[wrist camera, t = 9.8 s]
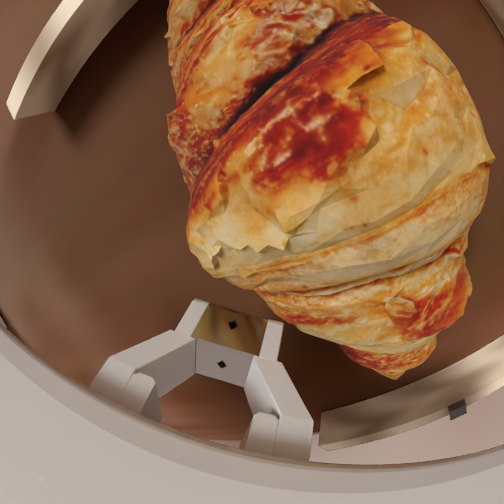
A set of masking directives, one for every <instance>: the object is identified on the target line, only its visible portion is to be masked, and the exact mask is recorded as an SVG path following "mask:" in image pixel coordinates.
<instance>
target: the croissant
mask: <svg viewBox="0 0 504 504" xmlns="http://www.w3.org/2000/svg"><path fill="white" fill-rule="evenodd" d="M167 21H168V25H169V28H168V32H167V34H166V35H165V37H164V38H166V39H168V54H169V66H171V67H172V70H171V77H172V80H173V84H174V88H175V91H176V94H177V97H176V104H175V109H174V111H173V112H171V113H169V114H168V115H166V116H168V117H167V119H168V132H169V135H168V140H169V144H170V146H171V147H172V148H173V150H174V151H175V152H176V153H177V159H178V162H179V164H180V166H181V169H182V171H183V177H184V182H185V183H186V184H187V185H188V189H189V192H190V195H191V200H190V205H189V211H188V217H187V224H186V233H187V240H188V245H189V248H190V251H191V252H192V253H193V254H194V255H195V256H196V257H198V259H199V261H200V263H201V265H202V267H203V268H204V269H205V270H206V271H207V272H208V273H209V274H211V275H212V276H213V277H215V278H221V277H223V278H225V279H226V280H227V281H228V282H230V283H231V284H233V285H236V286H238V287H240V288H243V289H250V290H255V291H256V292H257V293H258V294H259V295H260V296H261V297H262V298H263V299H264V300H265V301H266V303H267V304H268V306H269V307H270V308H271V310H272V311H273V312H274V313H275V314H276V315H277V316H279V317H280V318H282V319H283V320H285V321H286V322H288V323H289V324H294V325H295V326H296V327H297V328H298V329H299V330H300V331H302V332H304V333H307V334H310V335H313V336H316V337H319V338H322V339H326V340H329V341H332V342H335V343H337V344H338V345H339V347H340V348H341V349H342V351H343V352H344V353H345V354H346V355H347V356H348V357H349V358H350V359H351V360H353V361H355V362H357V363H358V364H360V365H362V366H364V367H368V368H371V369H374V370H375V371H377V372H378V373H380V374H382V375H384V376H386V377H389V378H391V379H394V380H396V379H398V378H399V377H400V376H401V375H402V374H404V372H405V371H406V370H408V369H411V368H414V367H416V366H418V365H420V364H422V363H423V362H424V361H425V360H426V359H427V358H428V357H429V355H430V354H431V353H432V351H433V350H434V348H435V346H436V335H437V334H438V333H439V332H440V331H442V330H444V329H446V328H448V327H449V326H451V325H452V324H453V323H454V322H455V321H456V320H457V319H459V318H460V317H461V316H462V315H463V314H464V309H465V305H466V301H467V297H470V295H471V292H472V283H471V281H470V279H471V278H470V275H469V273H468V270H467V268H466V265H465V263H466V260H465V257H464V251H465V250H466V248H467V247H468V232H469V230H470V226H471V225H472V223H473V221H474V219H475V218H476V217H477V216H478V214H479V213H480V212H481V210H482V207H483V204H484V201H485V198H486V195H487V189H488V181H489V171H490V165H491V164H492V162H493V161H494V159H495V156H494V155H493V153H492V151H491V149H490V147H489V145H488V142H487V140H486V138H485V134H484V130H483V126H482V123H481V119H480V117H479V114H478V112H477V110H476V107H475V105H474V103H473V101H472V98H471V96H470V94H469V92H468V90H467V89H466V87H465V85H464V84H463V81H462V79H461V77H460V74H459V72H458V70H457V68H456V67H455V66H454V64H453V63H452V62H451V61H450V59H449V58H448V57H447V56H446V54H445V53H444V52H443V51H442V50H441V49H440V48H439V46H438V45H437V44H436V43H435V42H434V41H433V40H432V39H431V38H430V37H429V36H428V35H427V34H426V33H424V32H422V31H420V30H418V29H416V28H414V27H412V26H411V25H409V24H408V23H406V22H404V21H401V20H399V19H397V18H395V17H388V16H387V15H386V14H385V13H383V12H382V11H381V10H380V9H379V8H378V7H376V6H375V5H374V4H373V3H372V2H370V1H369V0H169V7H168V10H167Z"/></svg>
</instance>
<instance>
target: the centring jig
mask: <svg viewBox="0 0 504 504" xmlns="http://www.w3.org/2000/svg"><path fill="white" fill-rule="evenodd" d="M137 1H138V0H63V1H62V3H61V4H60V5H59V7H58V8H57V9H56V11H55V12H54V14H53V15H52V17H51V18H50V20H49V21H48V23H47V24H46V26H45V27H44V29H43V30H42V32H41V34H40V35H39V37H38V39H37V40H36V42H35V44H34V45H33V47H32V49H31V51H30V53H29V55H28V56H27V58H26V60H25V62H24V64H23V66H22V68H21V70H20V72H19V75H18V77H17V79H16V81H15V83H14V86H13V88H12V90H11V93H10V95H9V98H8V100H7V103H6V104H7V106H8V108H9V110H10V112H11V115H12V117H13V119H14V120H16V119H20V118H24V117H28V116H33V115H37V114H42V113H46V112H52V111H55V110H56V108H57V106H58V105H59V103H60V101H61V99H62V98H63V96H64V94H65V93H66V91H67V89H68V88H69V86H70V85H71V83H72V81H73V80H74V78H75V77H76V75H77V74H78V72H79V71H80V69H81V68H82V66H83V65H84V64H85V62H86V61H87V59H88V58H89V57H90V55H91V54H92V53H93V51H94V50H95V49H96V47H97V46H98V45H99V44H100V42H101V41H102V40H103V39H104V37H105V36H106V35H107V34H108V33H109V31H110V30H111V29H112V28H113V27H114V26H115V24H116V23H117V22H118V21H119V20H120V19H121V18H122V17H123V16H124V15H125V13H126V12H127V11H128V10H129V9H130V8H131V7H132V6H133V5H134V4H135V3H136V2H137ZM479 1H480V2H481V4H482V5H483V7H484V8H485V9H486V11H487V12H488V14H489V15H490V17H491V18H492V20H493V21H494V23H495V24H496V26H497V28H498V29H499V31H500V33H501V34H502V36H503V38H504V0H479ZM502 386H504V335H502V336H501V337H499V338H498V339H496V340H494V341H493V342H491V343H490V344H488V345H486V346H485V347H483V348H481V349H480V350H478V351H476V352H475V353H473V354H471V355H469V356H467V357H466V358H464V359H462V360H460V361H458V362H456V363H454V364H452V365H450V366H448V367H446V368H444V369H442V370H440V371H438V372H436V373H434V374H432V375H430V376H427V377H425V378H423V379H421V380H418V381H416V382H414V383H411V384H409V385H406V386H404V387H401V388H399V389H396V390H393V391H391V392H388V393H385V394H382V395H379V396H377V397H374V398H371V399H368V400H364V401H361V402H358V403H355V404H351V405H348V406H344V407H341V408H337V409H333V410H330V411H326V412H321V425H320V436H319V446H320V447H322V448H323V449H325V450H326V451H330V450H336V449H341V448H346V447H351V446H355V445H359V444H364V443H368V442H372V441H375V440H379V439H382V438H386V437H389V436H393V435H396V434H399V433H402V432H405V431H408V430H411V429H414V428H417V427H419V426H422V425H425V424H427V423H430V422H432V421H435V420H437V419H440V418H442V417H444V416H447V415H450V420H453V419H455V418H457V417H459V416H461V415H464V414H465V413H467V412H466V406H468V405H470V404H472V403H474V402H476V401H477V400H479V399H481V398H483V397H485V396H487V395H488V394H490V393H492V392H494V391H495V390H497V389H499V388H500V387H502Z"/></svg>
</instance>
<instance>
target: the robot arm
mask: <svg viewBox="0 0 504 504" xmlns="http://www.w3.org/2000/svg"><path fill="white" fill-rule="evenodd" d="M283 327H284V324H283V322H279V321H275V320H270V319H266V318H262V317H258V316H254V315H250V314H246V313H243V312H238V311H235V310H232V309H229V308H225V307H222V306H219V305H216V304H213V303H208V302H205V301H202V300H199V299H194V300H193V301H192V303H191V304H190V306H189V308H188V309H187V311H186V313H185V314H184V316H183V318H182V319H181V321H180V323H179V324H178V326H177V328H176V330H175V331H173V330H169V331H167V332H164V333H162V334H160V335H158V336H156V337H153V338H151V339H149V340H147V341H145V342H142V343H140V344H138V345H136V346H133V347H131V348H129V349H126V350H124V351H122V352H120V353H117V354H115V355H113V356H110V357H109V358H108V360H107V361H106V363H105V364H104V365H103V367H102V368H101V370H100V371H99V373H98V374H97V376H96V377H95V378H94V380H93V381H92V383H91V384H90V386H89V387H86V386H84V385H83V384H81V383H79V382H78V381H76V380H75V379H73V378H71V377H70V376H68V375H67V374H65V373H64V372H62V371H61V370H59V369H58V368H56V367H55V366H53V365H52V364H50V363H49V362H48V361H46V360H45V359H43V358H42V357H41V356H39V355H38V354H37V353H35V352H34V351H33V350H31V349H30V348H29V347H28V346H26V345H25V344H24V343H23V342H21V341H20V340H19V339H18V338H17V337H15V336H14V335H13V334H12V333H11V332H10V331H8V330H7V326H6V325H5V323H4V321H3V319H2V318H1V316H0V504H504V445H501V446H497V447H494V448H491V449H487V450H483V451H480V452H475V453H471V454H467V455H462V456H457V457H452V458H446V459H440V460H433V461H426V462H417V463H404V464H386V465H351V464H331V463H319V462H309V457H310V449H311V441H312V433H313V423H314V421H313V419H312V418H311V416H310V414H309V412H308V410H307V408H306V407H305V405H304V403H303V401H302V399H301V397H300V396H299V394H298V392H297V390H296V388H295V386H294V385H293V383H292V381H291V379H290V377H289V375H288V373H287V371H286V370H285V368H284V366H283V364H282V362H278V361H277V360H278V354H279V349H280V343H281V338H282V332H283ZM195 373H198V374H201V375H205V376H208V377H212V378H215V379H219V380H222V381H225V382H228V383H232V384H235V385H238V386H241V387H244V391H245V394H246V397H247V400H248V403H249V406H250V408H251V411H252V414H253V418H252V420H251V422H250V425H249V427H248V429H247V431H246V433H245V435H244V437H243V439H242V441H241V444H240V447H239V449H238V448H234V447H230V446H226V445H222V444H219V443H216V442H212V441H209V440H206V439H203V438H200V437H196V436H193V435H191V434H188V433H185V432H182V431H179V430H177V429H174V428H171V427H169V426H166V425H164V424H161V421H162V419H163V414H162V410H161V406H160V402H159V397H161V396H163V395H164V394H166V393H167V392H169V391H170V390H172V389H173V388H175V387H176V386H178V385H179V384H181V383H182V382H184V381H185V380H187V379H188V378H189V377H191V376H192V375H194V374H195Z"/></svg>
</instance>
